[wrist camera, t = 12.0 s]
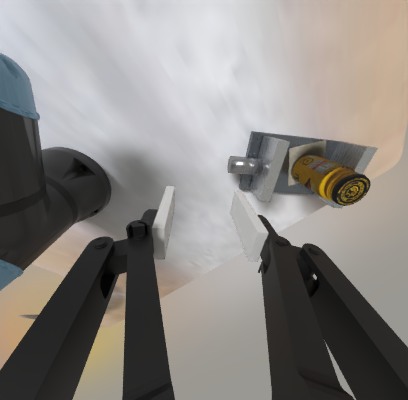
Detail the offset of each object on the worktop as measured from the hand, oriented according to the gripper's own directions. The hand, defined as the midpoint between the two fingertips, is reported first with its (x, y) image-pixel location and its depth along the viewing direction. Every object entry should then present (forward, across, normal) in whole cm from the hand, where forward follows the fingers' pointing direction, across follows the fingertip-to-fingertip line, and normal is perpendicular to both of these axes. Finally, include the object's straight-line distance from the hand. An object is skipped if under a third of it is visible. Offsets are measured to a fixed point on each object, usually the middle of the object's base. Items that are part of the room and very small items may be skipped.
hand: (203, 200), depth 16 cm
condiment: (+18, +23, +1) cm, 29 cm away
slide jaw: (+17, +10, 0) cm, 20 cm away
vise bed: (+19, +20, 0) cm, 28 cm away
